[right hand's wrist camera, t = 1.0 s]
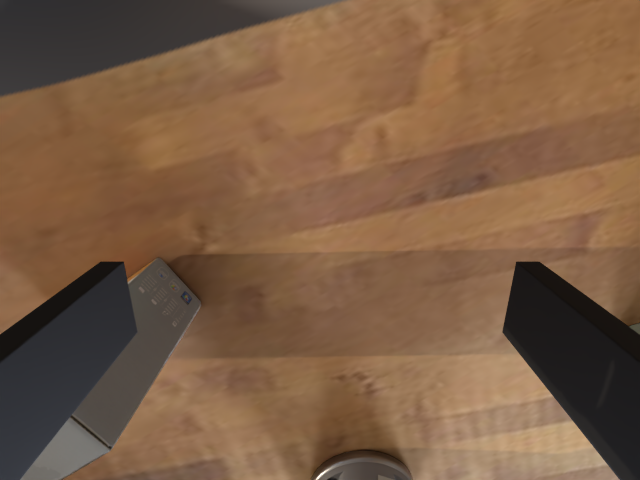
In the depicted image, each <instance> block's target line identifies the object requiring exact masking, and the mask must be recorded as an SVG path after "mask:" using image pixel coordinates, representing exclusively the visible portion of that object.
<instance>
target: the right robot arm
mask: <svg viewBox="0 0 640 480" xmlns="http://www.w3.org/2000/svg"><path fill="white" fill-rule="evenodd" d="M136 333H137V327H136V322H135V317H134V312H133V307H132V301H131V296H130V291H129V286H128V281H127V276H126V271H125V266H124V262H100V263H98V264H97V265H96V266H94V267H93V268H91V269H90V270H89V271H87V272H86V273H85V274H83V275H82V276H80V277H79V278H78V279H76V280H75V281H73V282H72V283H71V284H69V285H68V286H67V287H65V288H64V289H62V290H61V291H60V292H58V293H57V294H56V295H54V296H53V297H51V298H50V299H49V300H47V301H46V302H44V303H43V304H42V305H40V306H39V307H38V308H36V309H35V310H33V311H32V312H31V313H29V314H28V315H27V316H25V317H24V318H22V319H21V320H20V321H18V322H17V323H15V324H14V325H13V326H11V327H10V328H9V329H7V330H6V331H4V332H3V333H2V334H0V480H20V479H21V478H22V477H23V475H24V474H25V473H26V472H27V470H28V469H29V468H30V467H31V465H32V464H33V463H34V462H35V460H36V459H37V458H38V457H39V455H40V454H41V453H42V452H43V450H44V449H45V448H46V447H47V445H48V444H49V443H50V442H51V440H52V439H53V438H54V437H55V435H56V434H57V433H58V432H59V430H60V429H61V428H62V426H63V425H64V424H65V423H66V421H67V420H68V419H69V418H70V416H71V415H72V414H73V413H74V411H75V410H76V409H77V408H78V406H79V405H80V404H81V403H82V401H83V400H84V399H85V398H86V396H87V395H88V394H89V393H90V391H91V390H92V389H93V388H94V386H95V385H96V384H97V382H98V381H99V380H100V379H101V377H102V376H103V375H104V374H105V372H106V371H107V370H108V369H109V367H110V366H111V365H112V364H113V362H114V361H115V360H116V359H117V357H118V356H119V355H120V354H121V352H122V351H123V350H124V349H125V347H126V346H127V345H128V344H129V342H130V341H131V340H132V339H133V337H134V336H135V335H136ZM503 333H504V335H505V336H506V337H507V339H508V340H509V341H510V342H511V344H512V345H513V346H514V347H515V349H516V350H517V351H518V352H519V354H520V355H521V356H522V357H523V359H524V360H525V361H526V362H527V364H528V365H529V366H530V367H531V369H532V370H533V371H534V372H535V374H536V375H537V376H538V377H539V379H540V380H541V381H542V383H543V384H544V385H545V386H546V388H547V389H548V390H549V391H550V393H551V394H552V395H553V396H554V398H555V399H556V400H557V401H558V403H559V404H560V405H561V406H562V408H563V409H564V410H565V411H566V413H567V414H568V415H569V416H570V418H571V419H572V420H573V421H574V423H575V424H576V425H577V426H578V428H579V429H580V430H581V432H582V433H583V434H584V435H585V437H586V438H587V439H588V440H589V442H590V443H591V444H592V445H593V447H594V448H595V449H596V450H597V452H598V453H599V454H600V455H601V457H602V458H603V459H604V460H605V462H606V463H607V464H608V465H609V467H610V468H611V469H612V470H613V472H614V473H615V474H616V475H617V477H618V478H619V479H620V480H640V334H638V333H637V332H636V331H634V330H633V329H631V328H630V327H629V326H627V325H626V324H625V323H623V322H622V321H620V320H619V319H618V318H616V317H615V316H613V315H612V314H611V313H609V312H608V311H607V310H605V309H604V308H602V307H601V306H600V305H598V304H597V303H596V302H594V301H593V300H591V299H590V298H589V297H587V296H586V295H584V294H583V293H582V292H580V291H579V290H578V289H576V288H575V287H573V286H572V285H571V284H569V283H568V282H567V281H565V280H564V279H562V278H561V277H560V276H558V275H557V274H555V273H554V272H553V271H551V270H550V269H549V268H547V267H546V266H544V265H543V264H542V263H540V262H516V266H515V271H514V276H513V281H512V286H511V291H510V296H509V301H508V307H507V312H506V317H505V322H504V327H503ZM311 480H413V478H412V476H411V473H410V472H409V470H408V469H407V467H406V466H405V465H404V464H403V463H401V462H400V461H399V460H397V459H396V458H394V457H392V456H389V455H387V454H384V453H380V452H375V451H351V452H347V453H343V454H340V455H337V456H335V457H333V458H331V459H329V460H327V461H326V462H324V463H323V464H322V465H321V466H320V467H319V468H318V469H317V470H316V471H315V473H314V474H313V476H312V479H311Z"/></svg>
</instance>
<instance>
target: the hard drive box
mask: <svg viewBox="0 0 640 480" xmlns="http://www.w3.org/2000/svg"><path fill="white" fill-rule="evenodd" d="M127 281H128V286H129V291H130V296H131V301H132V307H133V312H134V317H135V322H136V327H137V333H136V335H135V336H134V337H133V339H132V340H131V341H130V342H129V344H128V345H127V346H126V347H125V349H124V350H123V351H122V352H121V354H120V355H119V356H118V357H117V359H116V360H115V361H114V362H113V364H112V365H111V366H110V367H109V369H108V370H107V371H106V372H105V374H104V375H103V376H102V377H101V379H100V380H99V381H98V382H97V384H96V385H95V386H94V388H93V389H92V390H91V391H90V393H89V394H88V395H87V396H86V398H85V399H84V400H83V401H82V403H81V404H80V405H79V406H78V408H77V409H76V410H75V411H74V413H73V414H72V415H71V416H70V418H69V419H68V420H67V421H66V423H65V424H64V425H63V426H62V428H61V429H60V430H59V432H58V433H57V434H56V435H55V437H54V438H53V439H52V440H51V442H50V443H49V444H48V445H47V447H46V448H45V449H44V450H43V452H42V453H41V454H40V455H39V457H38V458H37V459H36V460H35V462H34V463H33V464H32V465H31V467H30V468H29V469H28V470H27V472H26V473H25V474H24V475H23V477H22V478H21V479H20V480H62V479H64V478H66V477H67V476H69V475H71V474H73V473H74V472H76V471H78V470H80V469H81V468H83V467H85V466H87V465H88V464H90V463H91V462H93V461H95V460H96V459H98V458H100V457H101V456H103V455H104V454H106V453H108V452H109V451H111V449H112V448H113V446H114V445H115V444H116V442H117V440H118V439H119V437H120V435H121V434H122V432H123V431H124V429H125V428H126V426H127V424H128V423H129V421H130V420H131V418H132V416H133V415H134V413H135V412H136V410H137V408H138V407H139V405H140V403H141V402H142V400H143V399H144V397H145V395H146V394H147V392H148V391H149V389H150V387H151V386H152V384H153V383H154V381H155V379H156V378H157V376H158V375H159V373H160V371H161V370H162V368H163V367H164V365H165V363H166V362H167V360H168V359H169V357H170V355H171V354H172V352H173V351H174V349H175V347H176V346H177V344H178V343H179V341H180V339H181V338H182V336H183V335H184V333H185V331H186V330H187V328H188V327H189V325H190V323H191V322H192V320H193V319H194V317H195V315H196V314H197V312H198V311H199V309H200V307H201V301H200V300H199V299H198V298H197V297H196V296H195V295H194V294H193V293H192V292H191V291H190V289H189V288H188V287H187V286H186V285H185V284H184V283H183V282H182V281H181V280H180V279H179V278H178V276H177V275H176V274H175V273H174V272H173V271H172V270H171V269H170V268H169V267H168V266H167V264H166V263H165V262H164V261H163V260H162V259H161V258H159V257H158V258H156V259H155V260H153V261H152V262H150V263H149V264H148V265H146V266H145V267H143V268H142V269H141V270H139V271H138V272H136V273H135V274H134V275H132V276H131V277H129V278H128V279H127Z"/></svg>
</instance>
